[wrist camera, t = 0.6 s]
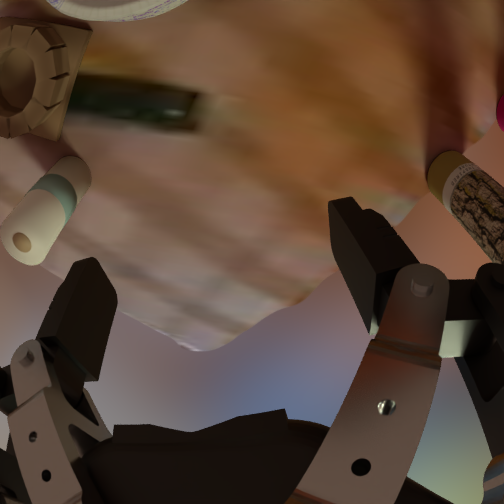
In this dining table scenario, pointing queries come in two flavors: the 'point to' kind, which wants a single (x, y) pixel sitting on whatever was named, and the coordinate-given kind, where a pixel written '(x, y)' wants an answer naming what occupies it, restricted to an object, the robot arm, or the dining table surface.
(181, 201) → the dining table surface
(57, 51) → the holder
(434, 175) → the bark covered cylinder
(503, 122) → the pepper mill
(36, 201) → the roll
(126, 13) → the paper bowls
